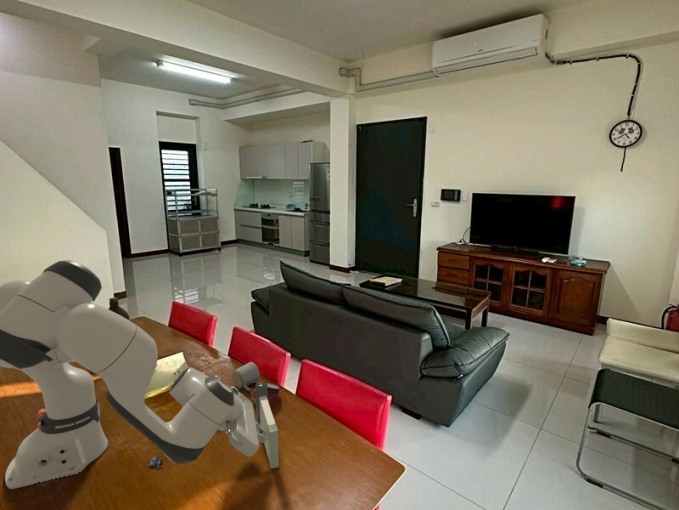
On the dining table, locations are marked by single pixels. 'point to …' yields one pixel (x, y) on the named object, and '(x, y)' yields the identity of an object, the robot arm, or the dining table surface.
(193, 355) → the dining table surface
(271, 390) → the canned food
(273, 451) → the cream flat block
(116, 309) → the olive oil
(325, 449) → the dining table surface
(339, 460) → the dining table surface
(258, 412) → the hinge post
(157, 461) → the blueberries
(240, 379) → the ceramic mug
